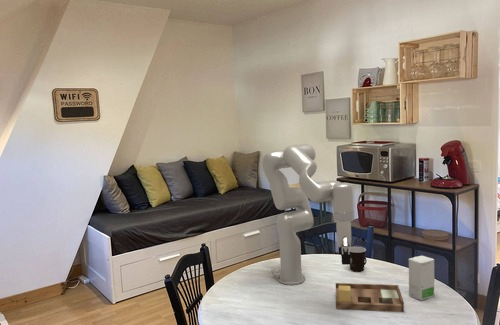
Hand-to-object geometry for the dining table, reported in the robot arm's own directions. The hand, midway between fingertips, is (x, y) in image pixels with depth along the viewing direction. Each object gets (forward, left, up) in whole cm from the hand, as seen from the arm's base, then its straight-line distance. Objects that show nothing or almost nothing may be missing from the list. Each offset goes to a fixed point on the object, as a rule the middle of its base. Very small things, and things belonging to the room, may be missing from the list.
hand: (345, 260), depth 160 cm
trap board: (+8, +7, -20) cm, 23 cm away
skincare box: (+30, +15, -20) cm, 39 cm away
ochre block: (-1, +4, -17) cm, 18 cm away
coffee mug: (+6, +40, -20) cm, 45 cm away
